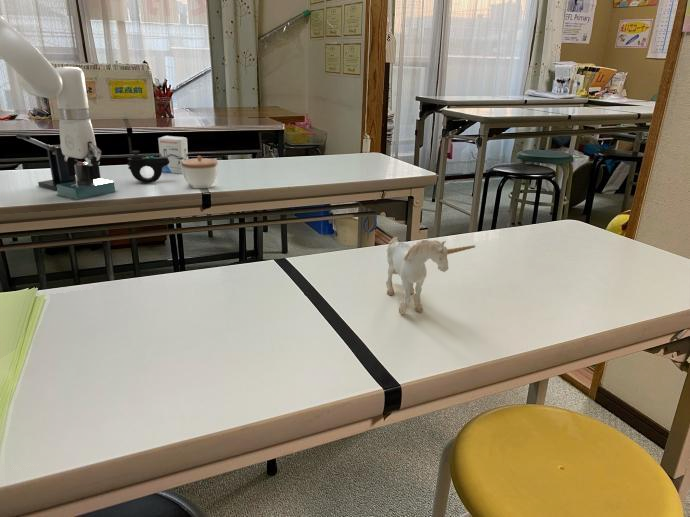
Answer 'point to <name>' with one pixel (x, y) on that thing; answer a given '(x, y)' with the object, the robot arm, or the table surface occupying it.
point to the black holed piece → (139, 162)
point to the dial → (82, 173)
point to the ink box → (173, 152)
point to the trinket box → (200, 171)
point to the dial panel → (85, 189)
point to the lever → (36, 142)
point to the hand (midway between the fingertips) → (84, 177)
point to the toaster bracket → (57, 170)
